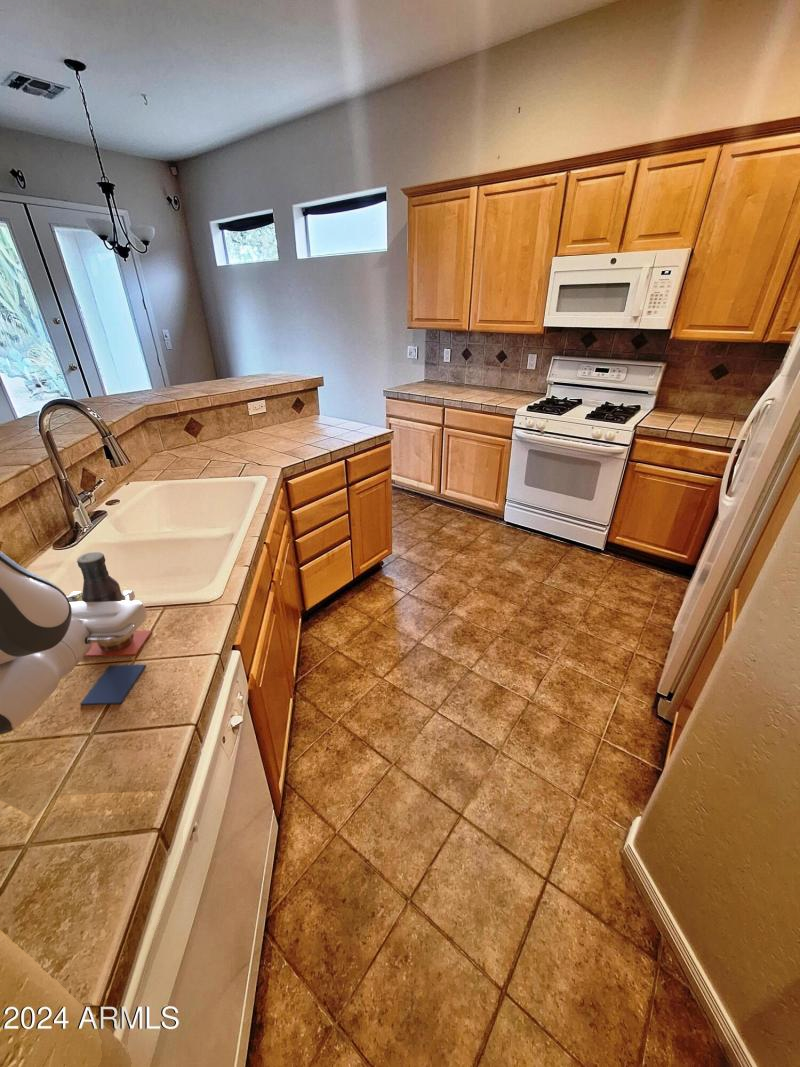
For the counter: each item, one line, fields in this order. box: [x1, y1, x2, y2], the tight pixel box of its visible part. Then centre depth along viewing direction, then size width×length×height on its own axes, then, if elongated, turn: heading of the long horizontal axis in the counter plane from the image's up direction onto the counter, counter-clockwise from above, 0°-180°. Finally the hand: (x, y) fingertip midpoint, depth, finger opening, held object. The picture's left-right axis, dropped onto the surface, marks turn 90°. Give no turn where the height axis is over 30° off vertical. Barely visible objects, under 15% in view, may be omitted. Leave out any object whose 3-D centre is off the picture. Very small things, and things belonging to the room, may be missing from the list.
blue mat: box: [80, 664, 147, 706], centre depth 76 cm, size 7×9×1 cm
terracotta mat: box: [83, 629, 153, 658], centre depth 86 cm, size 10×7×1 cm
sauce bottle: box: [76, 551, 133, 651], centre depth 81 cm, size 7×6×20 cm
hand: (104, 594), depth 82 cm, fingers open, 8 cm apart
